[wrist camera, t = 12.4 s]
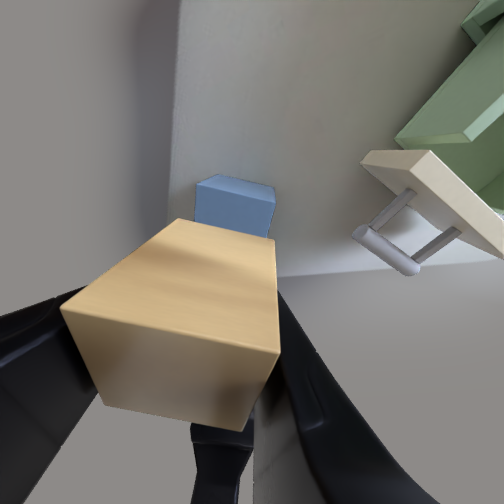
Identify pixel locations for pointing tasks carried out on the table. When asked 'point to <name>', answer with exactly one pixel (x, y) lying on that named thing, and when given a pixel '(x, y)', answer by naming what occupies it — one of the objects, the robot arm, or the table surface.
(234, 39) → the table surface
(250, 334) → the block
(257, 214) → the block
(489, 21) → the cabinet
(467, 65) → the drawer
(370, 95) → the table surface
